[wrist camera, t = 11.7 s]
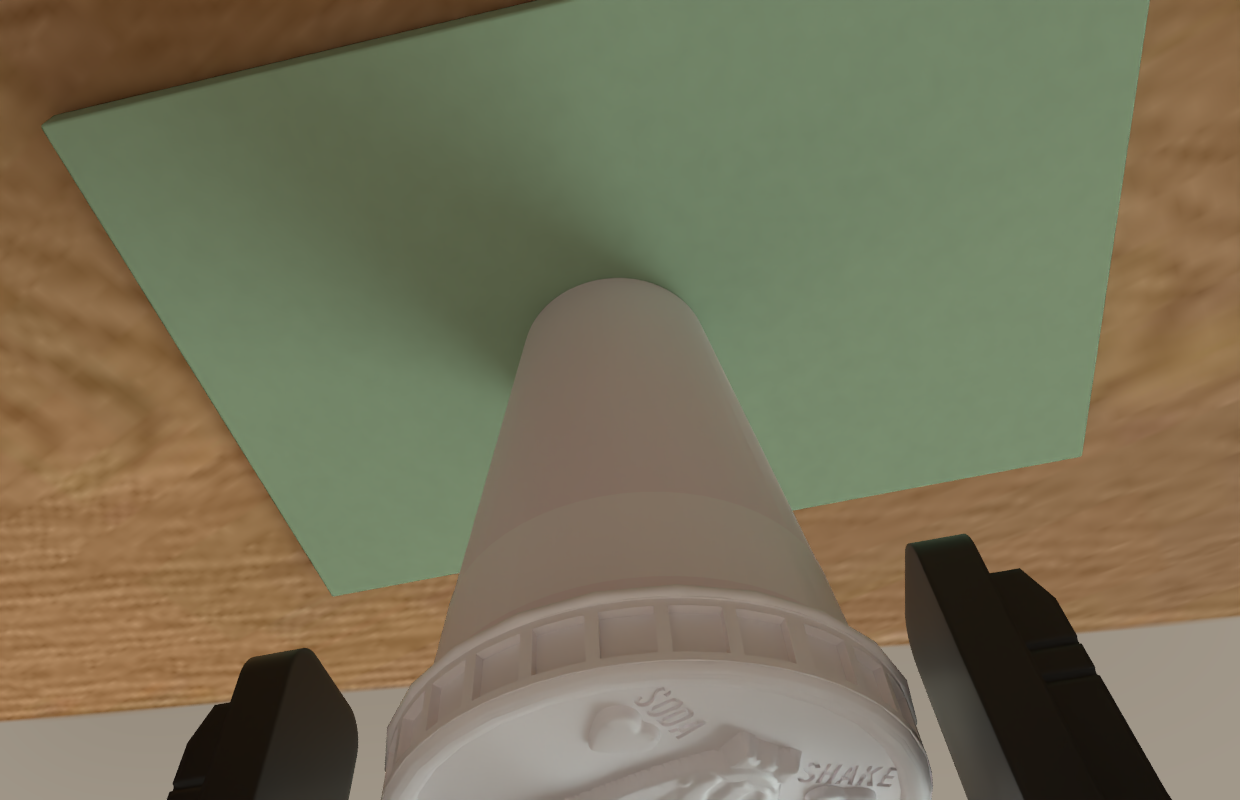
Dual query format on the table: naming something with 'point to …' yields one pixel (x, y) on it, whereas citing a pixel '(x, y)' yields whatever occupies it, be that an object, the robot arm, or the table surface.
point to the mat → (632, 237)
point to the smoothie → (644, 597)
